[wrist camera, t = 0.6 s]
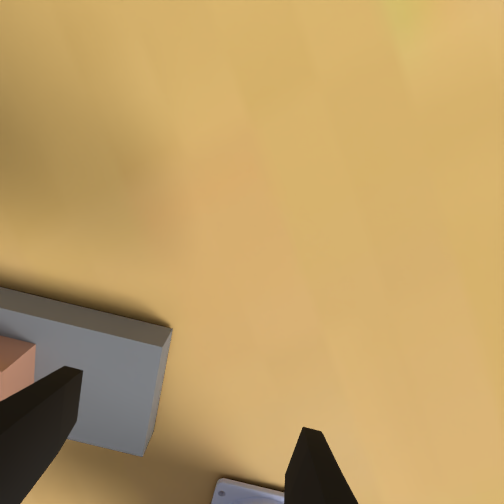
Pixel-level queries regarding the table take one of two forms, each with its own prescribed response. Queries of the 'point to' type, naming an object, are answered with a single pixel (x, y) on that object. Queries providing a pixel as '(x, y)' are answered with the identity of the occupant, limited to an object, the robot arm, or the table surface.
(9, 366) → the tile
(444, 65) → the table surface
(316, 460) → the robot arm
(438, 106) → the table surface
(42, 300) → the slate plate
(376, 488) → the table surface
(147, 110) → the table surface
